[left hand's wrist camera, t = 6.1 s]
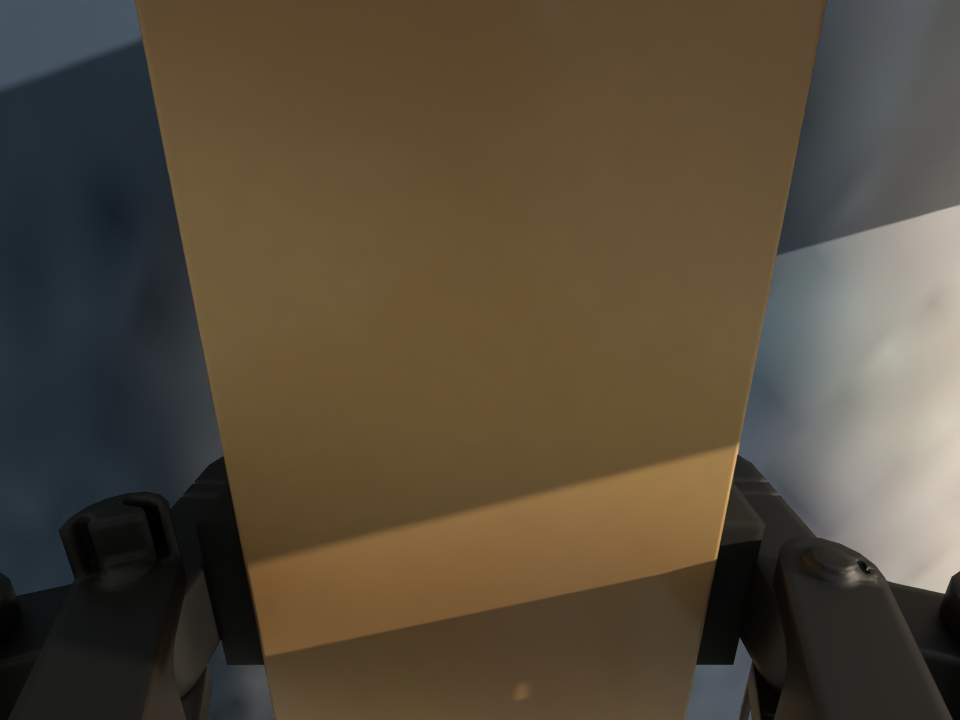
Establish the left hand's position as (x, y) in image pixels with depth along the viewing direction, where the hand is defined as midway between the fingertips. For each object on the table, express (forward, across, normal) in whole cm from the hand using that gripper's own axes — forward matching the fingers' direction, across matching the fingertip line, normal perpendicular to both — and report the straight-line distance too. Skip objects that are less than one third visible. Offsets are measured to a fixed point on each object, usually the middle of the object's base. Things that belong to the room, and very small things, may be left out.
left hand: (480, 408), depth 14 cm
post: (0, 0, -18) cm, 18 cm away
